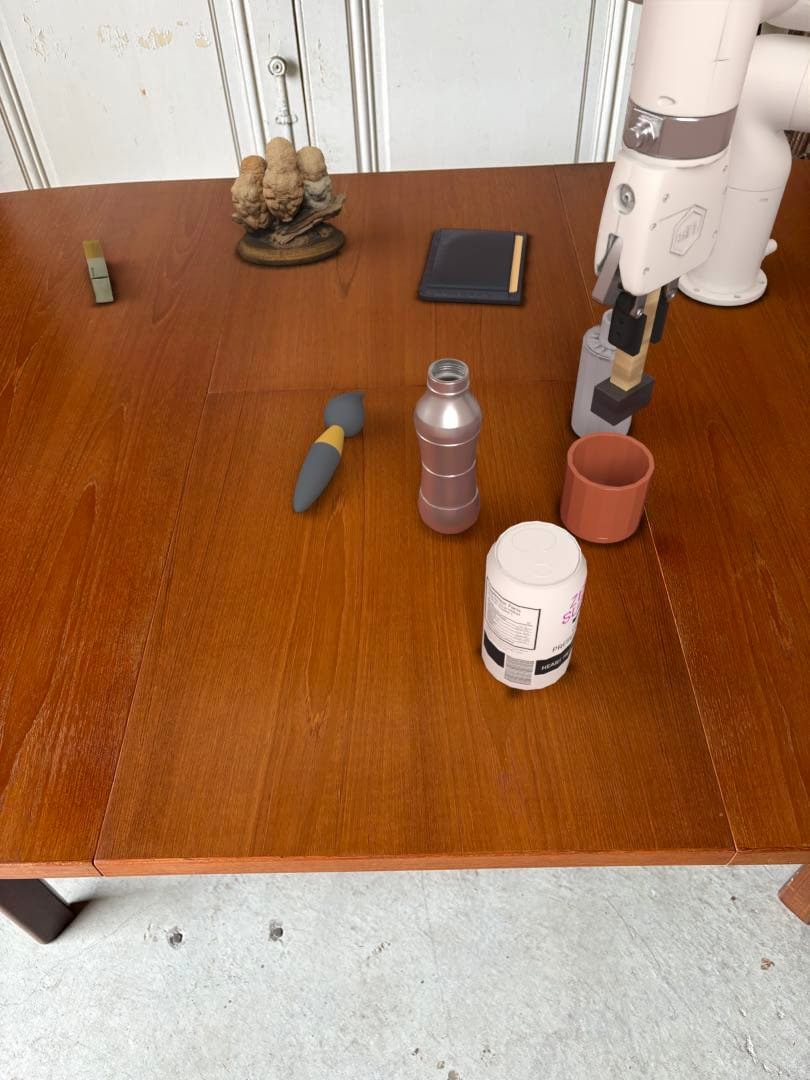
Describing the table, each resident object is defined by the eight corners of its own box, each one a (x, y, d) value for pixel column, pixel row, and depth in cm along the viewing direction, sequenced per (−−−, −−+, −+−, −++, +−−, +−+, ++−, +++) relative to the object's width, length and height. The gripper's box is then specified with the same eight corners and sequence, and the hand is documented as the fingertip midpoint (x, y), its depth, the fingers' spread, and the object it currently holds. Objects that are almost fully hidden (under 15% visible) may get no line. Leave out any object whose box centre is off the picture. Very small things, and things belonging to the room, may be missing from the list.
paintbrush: (330, 524, 89) (325, 491, 85) (287, 517, 90) (280, 485, 86) (375, 410, 102) (372, 377, 98) (337, 405, 103) (333, 373, 99)
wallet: (435, 220, 129) (532, 225, 127) (435, 231, 131) (531, 237, 128) (413, 288, 116) (520, 295, 114) (414, 300, 118) (519, 307, 115)
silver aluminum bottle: (475, 545, 86) (480, 395, 71) (412, 537, 87) (405, 388, 72) (483, 502, 90) (490, 352, 75) (423, 495, 91) (418, 346, 76)
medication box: (115, 302, 121) (109, 277, 118) (96, 304, 120) (90, 279, 117) (104, 261, 128) (99, 237, 125) (87, 263, 127) (81, 239, 124)
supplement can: (475, 625, 79) (479, 520, 68) (559, 617, 80) (577, 512, 68) (488, 697, 74) (494, 597, 63) (577, 689, 74) (600, 587, 63)
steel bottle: (598, 399, 101) (616, 292, 90) (640, 426, 98) (665, 318, 86) (559, 423, 99) (573, 315, 87) (601, 451, 95) (622, 343, 84)
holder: (597, 475, 92) (607, 420, 86) (656, 516, 88) (672, 462, 82) (543, 510, 89) (549, 457, 83) (602, 556, 84) (613, 502, 78)
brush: (625, 389, 79) (650, 267, 69) (649, 404, 78) (678, 281, 68) (589, 411, 77) (610, 288, 68) (613, 426, 76) (638, 303, 66)
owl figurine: (348, 223, 134) (337, 114, 121) (353, 260, 126) (342, 147, 113) (238, 233, 133) (216, 124, 120) (236, 271, 125) (212, 159, 112)
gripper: (644, 176, 53) (604, 400, 67) (790, 109, 59) (725, 326, 73) (561, 141, 57) (538, 359, 71) (705, 81, 63) (659, 292, 77)
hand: (633, 341), depth 72 cm, fingers closed on brush, 2 cm apart
